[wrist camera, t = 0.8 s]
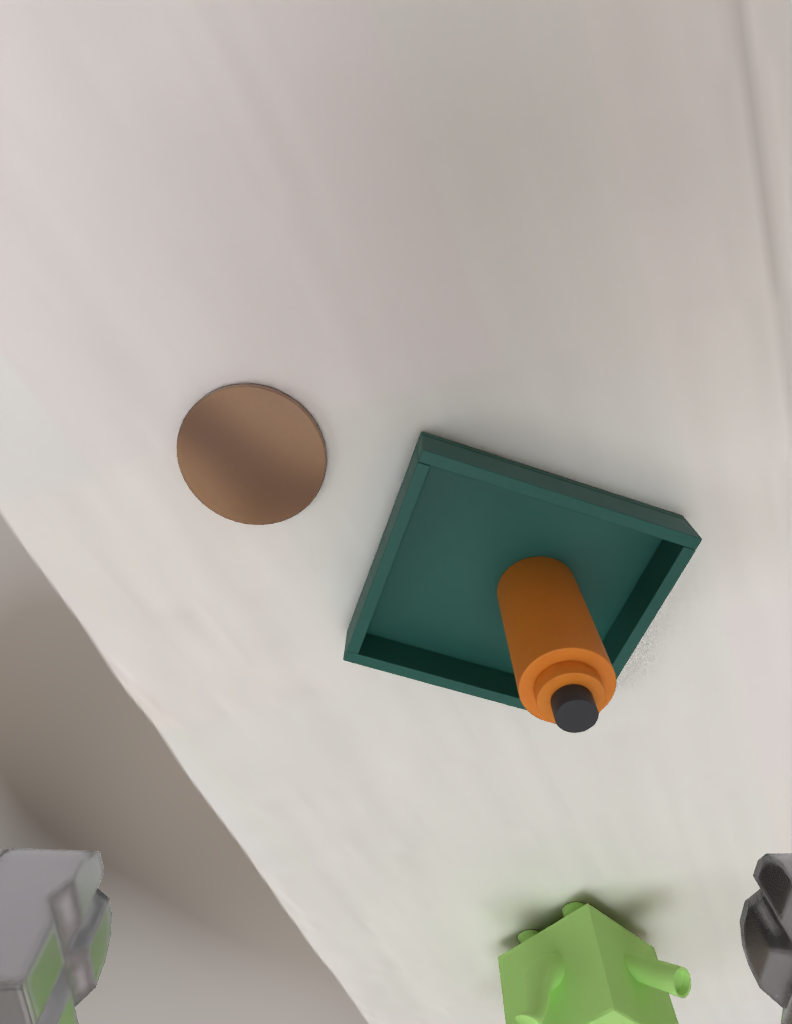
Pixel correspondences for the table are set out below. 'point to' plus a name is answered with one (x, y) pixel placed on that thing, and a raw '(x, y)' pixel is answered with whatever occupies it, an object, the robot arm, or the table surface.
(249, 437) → the coaster
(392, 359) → the table surface
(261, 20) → the table surface
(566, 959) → the kettle
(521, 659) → the glue bottle
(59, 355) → the table surface
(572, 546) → the tray
